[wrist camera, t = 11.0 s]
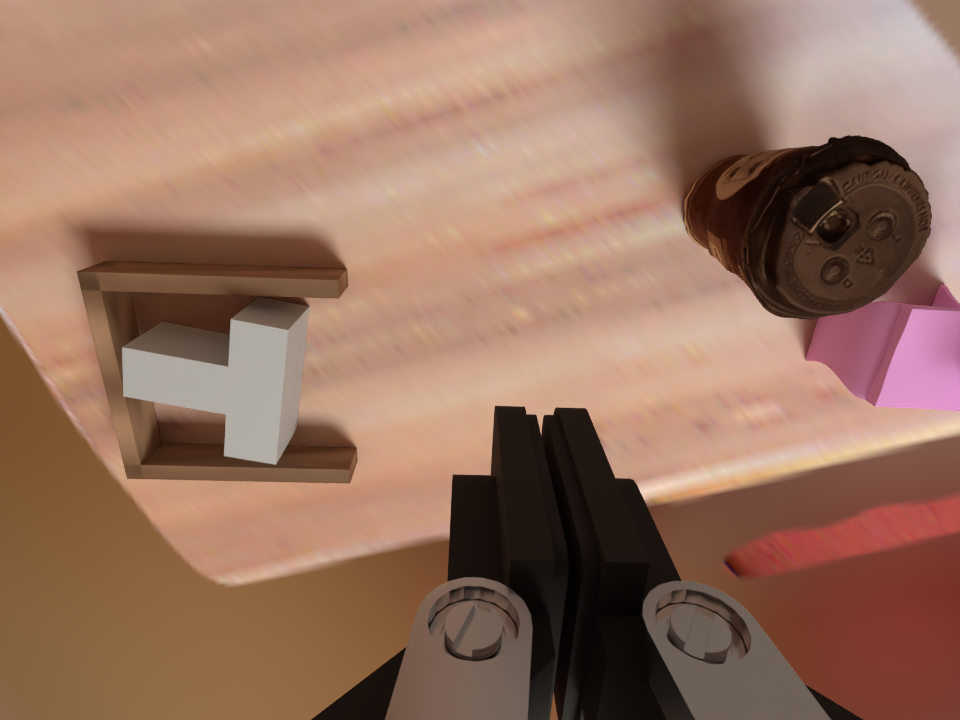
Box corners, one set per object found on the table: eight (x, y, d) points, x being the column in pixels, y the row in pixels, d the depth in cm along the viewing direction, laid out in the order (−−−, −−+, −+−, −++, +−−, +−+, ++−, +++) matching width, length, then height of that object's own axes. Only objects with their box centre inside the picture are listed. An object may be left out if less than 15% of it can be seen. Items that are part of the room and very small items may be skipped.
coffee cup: (661, 149, 36) (758, 160, 24) (793, 118, 35) (962, 113, 23) (673, 279, 39) (764, 347, 27) (794, 253, 38) (942, 310, 26)
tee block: (162, 277, 38) (120, 297, 34) (309, 306, 39) (288, 330, 35) (162, 405, 42) (124, 439, 37) (296, 428, 43) (276, 464, 38)
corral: (105, 261, 38) (76, 271, 35) (347, 269, 38) (337, 280, 35) (148, 456, 44) (127, 478, 41) (357, 461, 44) (349, 483, 41)
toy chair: (828, 262, 39) (1028, 337, 25) (950, 270, 39) (1214, 348, 25) (794, 372, 42) (955, 492, 28) (907, 378, 42) (1121, 500, 28)
